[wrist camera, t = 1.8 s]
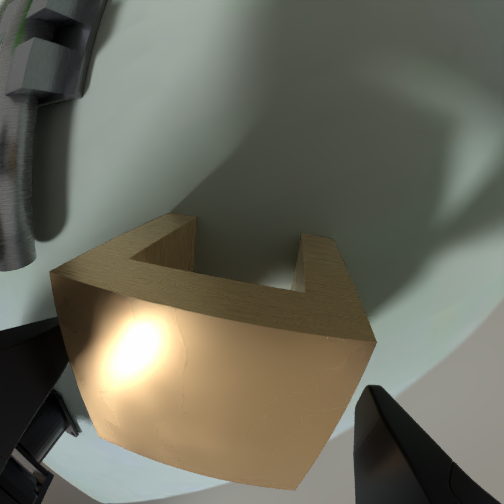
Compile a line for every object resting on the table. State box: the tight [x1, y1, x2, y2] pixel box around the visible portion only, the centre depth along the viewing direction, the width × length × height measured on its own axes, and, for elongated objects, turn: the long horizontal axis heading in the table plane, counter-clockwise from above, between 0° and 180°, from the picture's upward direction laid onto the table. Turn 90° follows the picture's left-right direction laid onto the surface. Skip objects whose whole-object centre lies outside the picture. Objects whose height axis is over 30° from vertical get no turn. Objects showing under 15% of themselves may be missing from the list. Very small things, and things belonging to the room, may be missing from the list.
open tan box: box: [50, 213, 377, 490], centre depth 9 cm, size 6×6×6 cm
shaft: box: [0, 0, 107, 271], centre depth 8 cm, size 16×7×4 cm, turn 173°
